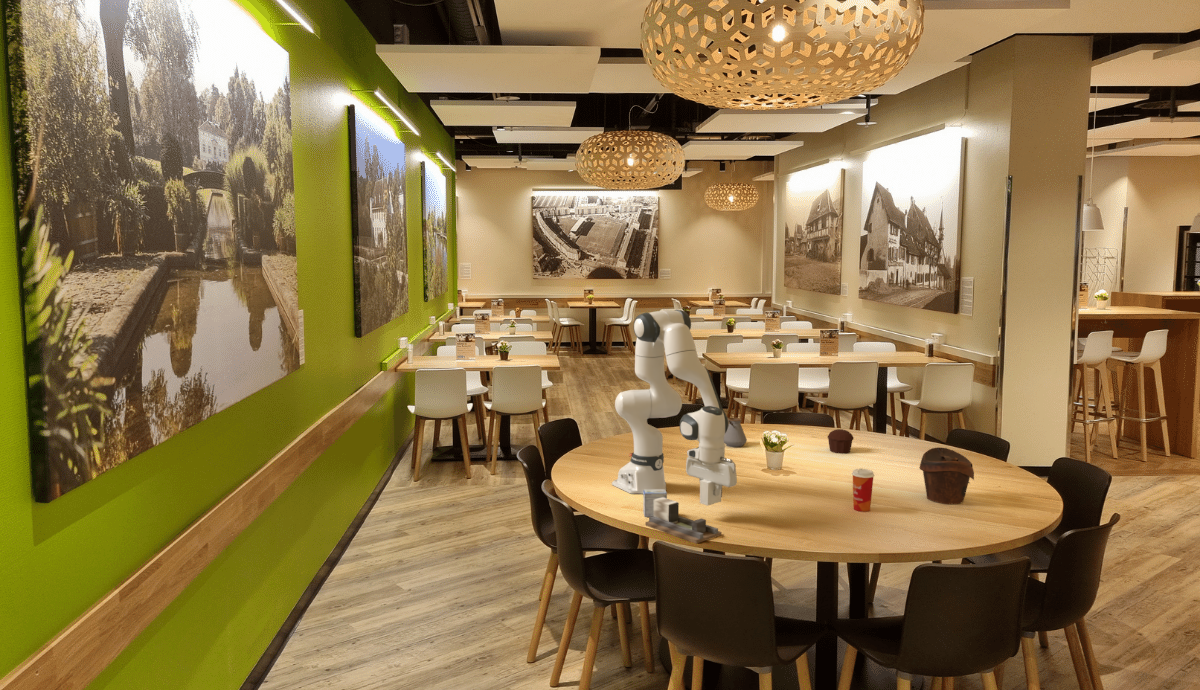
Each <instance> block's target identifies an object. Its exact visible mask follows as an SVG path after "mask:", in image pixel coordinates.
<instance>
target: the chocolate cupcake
mask: <svg viewBox="0 0 1200 690" xmlns="http://www.w3.org/2000/svg"><path fill="white" fill-rule="evenodd" d="M919 470H920V471H922V473H923V474H922V475H923V479H924V480H923V482H924V488H925V493H926V498H927V500H929V501H932V502H935V503H938V504H944V505H959V504H962V503H963V502H964V500H965V496H966V493H967V490H968V485H969V484H970V479H972V480H973V481H975V472H974V468H973V463H972V462H971V461H970V460H969V459H968V458H967V457H966V456H964V455H963V454H961V453H959V452H957V451H955V450H953V449H950V448H947V447H939V446H938V447H933V448H930V449H928V450H926V452H924V453H923V454H922V458H921V460H920V463H919Z"/></svg>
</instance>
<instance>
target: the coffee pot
mask: <svg viewBox="0 0 1200 690" xmlns="http://www.w3.org/2000/svg"><path fill="white" fill-rule="evenodd" d="M727 418H728V417H727ZM742 420H743V419H742V418H740V417H729V418H728V421H729V426H728V429H727V431H726V433H725V436H724V444H725V447H726V446H727V447H729V448H741V447H743V446H744V445H745V444H746V443H747V437H746V434H745V432H744V429H743V427H742V425H741V423H742Z"/></svg>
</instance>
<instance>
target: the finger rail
mask: <svg viewBox="0 0 1200 690" xmlns="http://www.w3.org/2000/svg"><path fill="white" fill-rule="evenodd" d="M679 505H680V504H679V502H678V501H675V500H673V499H670V498H668V497H667V498H664V497H662V498H658V499H655V500H654V516H650V517H648V521H645V526H646V527H649V528H652V529H655V530H657V531H661V532H662V533H666V534H669V535H671V536H674V537H677V538H679V539H683V540H685V541H688V542H691V543H694V544H699V543H702V542H705V541H708V540H710V539H714V538H717V537H719V536H722V534H723V533H722V531H720V530H719V528H717V527H714V526H712V525H708V524H707V520H706V518H705V519H704V518H702V517H701V518H698V519H695V520H694V519H691V518H687V517H684V516H681V515H680V514H679V508H680V506H679Z"/></svg>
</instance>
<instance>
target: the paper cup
mask: <svg viewBox="0 0 1200 690" xmlns="http://www.w3.org/2000/svg"><path fill="white" fill-rule="evenodd" d="M851 475H852V501H853V502H852V503H853V510H854V511H857V512H861V513H862V512H863V513H865V512H871V505H872V497H873V496H872V495H873V485H874V477H875V474H874V471H873V470H871V469H868V468H854V469H853V470H852V472H851Z"/></svg>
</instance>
